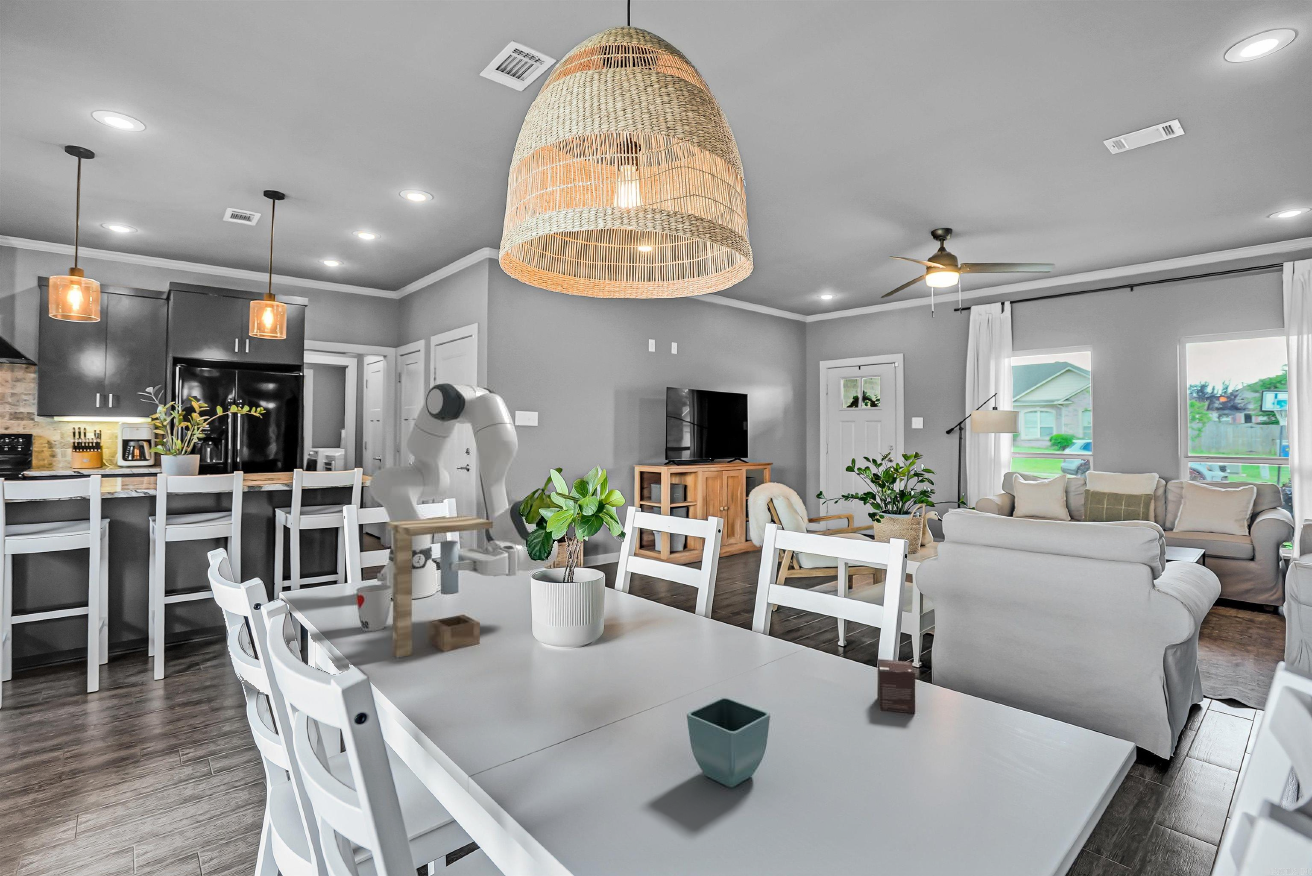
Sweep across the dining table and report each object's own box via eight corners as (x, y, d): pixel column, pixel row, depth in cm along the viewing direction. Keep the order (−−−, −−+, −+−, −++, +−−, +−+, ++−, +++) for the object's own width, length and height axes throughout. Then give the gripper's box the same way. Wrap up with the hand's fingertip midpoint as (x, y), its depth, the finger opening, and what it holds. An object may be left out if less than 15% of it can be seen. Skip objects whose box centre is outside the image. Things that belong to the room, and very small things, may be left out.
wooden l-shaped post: (383, 648, 145) (384, 522, 145) (464, 631, 158) (465, 515, 158) (407, 664, 135) (408, 529, 135) (492, 645, 148) (492, 521, 148)
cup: (356, 625, 162) (356, 586, 162) (390, 622, 166) (391, 583, 166) (356, 634, 155) (356, 593, 155) (392, 630, 158) (392, 590, 158)
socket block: (428, 642, 149) (428, 621, 149) (463, 635, 155) (463, 614, 155) (444, 651, 143) (444, 629, 143) (479, 643, 149) (479, 622, 149)
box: (911, 701, 118) (912, 661, 118) (915, 714, 112) (916, 673, 112) (876, 697, 120) (877, 658, 120) (879, 710, 114) (879, 669, 114)
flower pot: (684, 775, 92) (684, 712, 92) (723, 754, 98) (724, 695, 98) (732, 800, 85) (733, 733, 85) (771, 776, 92) (771, 713, 92)
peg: (437, 592, 152) (437, 541, 152) (454, 589, 155) (453, 539, 155) (445, 595, 149) (444, 543, 149) (461, 592, 152) (461, 541, 152)
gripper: (479, 540, 168) (427, 546, 159) (519, 550, 153) (465, 557, 144) (479, 564, 168) (427, 572, 159) (519, 576, 153) (465, 585, 144)
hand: (445, 565), depth 151 cm, fingers closed on peg, 4 cm apart
